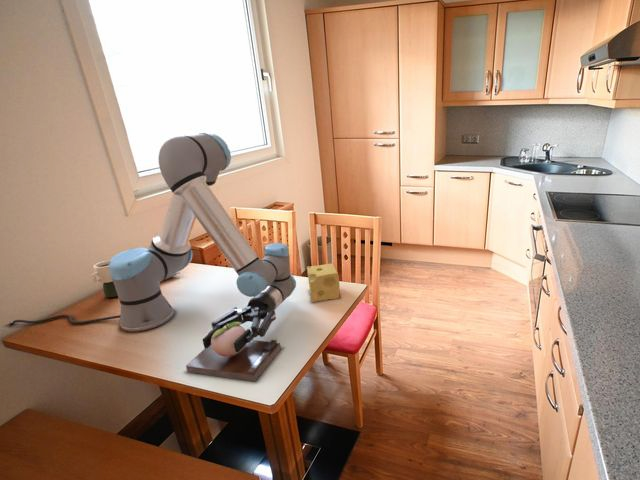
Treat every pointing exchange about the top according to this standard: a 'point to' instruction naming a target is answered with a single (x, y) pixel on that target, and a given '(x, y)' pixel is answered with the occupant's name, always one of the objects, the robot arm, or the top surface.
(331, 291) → the cheese
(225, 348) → the decorative fruit
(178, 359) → the top surface
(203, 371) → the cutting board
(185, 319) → the top surface
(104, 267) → the character mug
